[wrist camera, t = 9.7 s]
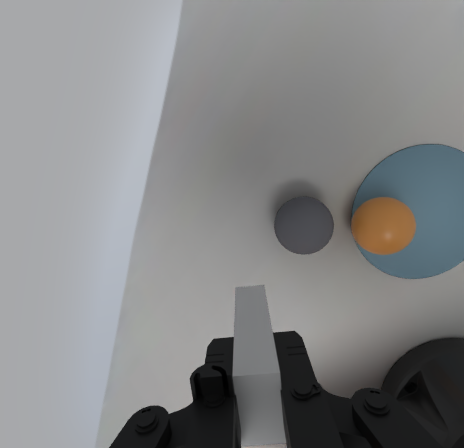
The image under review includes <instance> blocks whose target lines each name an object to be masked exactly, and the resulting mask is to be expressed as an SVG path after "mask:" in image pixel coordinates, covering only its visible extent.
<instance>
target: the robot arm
mask: <svg viewBox="0 0 464 448" xmlns="http://www.w3.org/2000/svg"><path fill="white" fill-rule="evenodd" d="M190 384H191V390H192V396H193V403H192V404H190V405H189V406H187V407H186V408H183V409H181V410H179V411H176V412H173V413H170V414H168V412H167V411H166V409H165V408H163V407H160V406H148V407H145V408H142V409H141V410H139V411H137V412H136V413H134V414H133V415H132V417H131V418H130V419H129V420H128V421H127V423H126V424H125V426H124V427H123V428H122V430H121V431H120V433H119V434H118V436H117V437H116V439H115V440H114V442H113V443H112V444H111V446H110V447H109V448H241V444H242V446H257V445H271V444H287V448H464V339H460V338H449V339H441V340H436V341H432V342H429V343H426V344H424V345H421V346H419V347H417V348H415V349H413V350H412V351H410V352H408V353H407V354H406V355H404V356H403V357H402V358H401V359H400V360H399V361H398V362H397V363H396V364H395V365H394V366H393V367H392V368H391V370H390V371H389V373H388V374H387V376H386V378H385V380H384V383H383V386H382V389H381V390H380V389H374V388H364V389H360V390H358V391H357V392H355V394H354V395H353V397H352V399H349V398H344V397H339V396H335V395H333V394H330V393H328V392H327V391H325V390H324V389H323V388H322V386H321V385H320V384H319V383H318V382H317V380H316V377H315V374H314V371H313V368H312V366H311V363H310V360H309V357H308V354H307V351H306V348H305V345H304V342H303V339H302V337H301V336H300V335H299V334H298V333H297V332H295V331H287V332H276V333H273V331H272V326H271V320H270V315H269V309H268V304H267V298H266V293H265V287H264V285H258V286H247V287H237V288H236V293H235V321H234V337H228V338H217V339H213V340H212V342H211V343H210V344H209V345H208V347H207V353H206V359H205V365H203V366H201V367H199V368H197V369H196V370H195V371H194V372H193V373H192V375H191V377H190Z"/></svg>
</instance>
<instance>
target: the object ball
mask: <svg viewBox="0 0 464 448" xmlns="http://www.w3.org/2000/svg"><path fill="white" fill-rule="evenodd" d="M351 230H352V234H353V237H354V239H355V240H356V242H357V243H358V244H359V245H360V246H361V247H362V248H363V249H365V250H367V251H368V252H371V253H374V254H378V255H389V254H393V253H397V252H399V251H401V250H403V249H404V248H405V247H406V246H408V245H409V243H410V242H411V241H412V239H413V237H414V235H415V232H416V221H415V217H414V215H413V213H412V211H411V210H410V208H409V207H408V206H407V205H405V204H404V203H403V202H401V201H399V200H397V199H394V198H390V197H377V198H373V199H370V200H368V201H366V202H364V203H363V204H362V205H361V206H359V207H358V209H357V210H356V211H355V213H354V215H353V218H352V221H351Z"/></svg>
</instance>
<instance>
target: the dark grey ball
mask: <svg viewBox="0 0 464 448" xmlns="http://www.w3.org/2000/svg"><path fill="white" fill-rule="evenodd" d="M274 228H275V233H276V236H277V238H278V240H279V242H280V243H281V244H282V245H283V246H284V247H285V248H286V249H288V250H289V251H291V252H293V253H297V254H311V253H314V252H317V251H319V250H321V249H322V248H323V247H324V246H325V245H326V244H327V243H328V242H329V240H330V238H331V236H332V233H333V228H334V223H333V218H332V215H331V213H330V211H329V209H328V208H327V207H326V206H325V205H324V204H323V203H322V202H320V201H319V200H316V199H314V198H310V197H297V198H294V199H292V200H289V201H288V202H286V203H285V204H284V205H283V206H282V207H281V208H280V209H279V211H278V213H277V215H276V218H275V223H274Z"/></svg>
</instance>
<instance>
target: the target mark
mask: <svg viewBox="0 0 464 448" xmlns="http://www.w3.org/2000/svg"><path fill="white" fill-rule="evenodd" d="M377 197H390V198H394V199H397V200H399V201H401V202H403V203H404V204H405V205H407V206H408V207H409V208H410V210H411V211H412V213H413V215H414V217H415V221H416V232H415V235H414V237H413V239H412V241H411V242H410V243H409V245H408V246H406V247H405V248H404V249H403V250H401V251H399V252H397V253H393V254H389V255H378V254H374V253H371V252H368V251H367V250H365V249H363V248H362V247H361V246H360V245H359V244H358V243H357V242H356V240H355V242H356V244H357V246H358V248H359V250H360V251H361V253H362V254H363V256H364V257H365V258H366V259H367V260H368V261H369V262H370V263H371V264H372V265H374V266H375V267H376V268H378V269H379V270H381V271H383V272H385V273H387V274H389V275H392V276H396V277H400V278H408V279H418V278H426V277H432V276H435V275H438V274H441V273H443V272H445V271H448V270H450V269H451V268H453V267H455V266H457V265H458V264H459V263H461V262H462V261H463V260H464V152H462V151H460V150H458V149H455V148H452V147H449V146H444V145H435V144H427V145H418V146H413V147H409V148H406V149H403V150H401V151H398V152H396V153H394V154H392V155H391V156H389V157H388V158H386V159H384V160H383V161H382V162H381V163H379V164H378V165H377V166H376V167H375V168H374V169H373V170H372V171H371V172H370V173H369V174H368V176H367V177H366V178H365V180H364V181H363V183H362V185H361V186H360V188H359V190H358V192H357V195H356V197H355V200H354V204H353V209H352V218H353V215H354V213H355V211H356V210H357V209H358V207H359V206H361V205H362V204H363V203H364V202H366V201H368V200H370V199H373V198H377Z"/></svg>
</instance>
